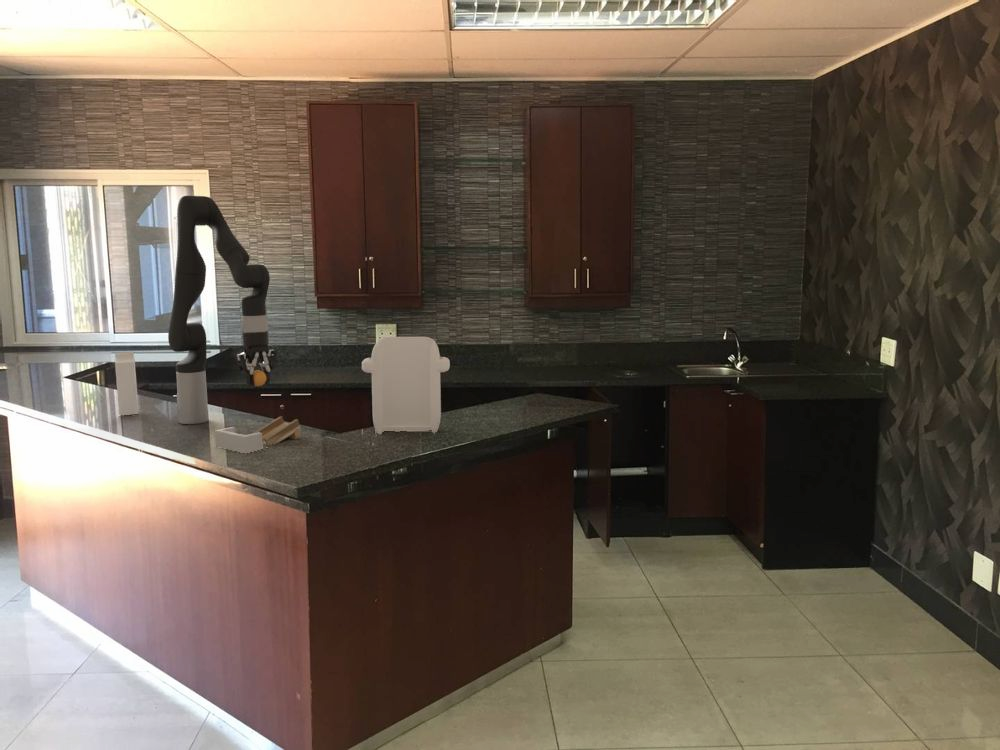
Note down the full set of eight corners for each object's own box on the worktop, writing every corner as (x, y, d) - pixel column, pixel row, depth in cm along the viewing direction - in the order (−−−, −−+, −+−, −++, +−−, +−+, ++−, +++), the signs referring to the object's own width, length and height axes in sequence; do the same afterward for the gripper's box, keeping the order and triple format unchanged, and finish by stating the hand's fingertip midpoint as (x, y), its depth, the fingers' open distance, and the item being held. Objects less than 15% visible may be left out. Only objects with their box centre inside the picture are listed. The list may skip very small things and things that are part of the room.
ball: (246, 386, 256) (245, 370, 255) (260, 384, 260) (259, 368, 259) (256, 387, 253) (255, 371, 252) (270, 385, 257) (269, 369, 256)
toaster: (451, 426, 271) (449, 334, 266) (450, 434, 259) (448, 338, 255) (367, 427, 270) (364, 335, 265) (362, 435, 259) (359, 339, 254)
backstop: (215, 447, 244) (214, 430, 243) (233, 443, 248) (232, 426, 248) (245, 454, 235) (244, 436, 235) (262, 449, 240) (261, 432, 239)
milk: (137, 415, 290) (133, 353, 287) (118, 416, 288) (114, 353, 285) (138, 412, 296) (134, 350, 292) (120, 413, 294) (115, 351, 290)
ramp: (249, 445, 250) (248, 423, 249) (283, 437, 260) (282, 415, 259) (266, 449, 245) (265, 426, 244) (301, 440, 255) (300, 419, 254)
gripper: (266, 327, 262) (269, 381, 264) (227, 331, 250) (231, 387, 253) (281, 328, 257) (285, 382, 260) (243, 332, 246) (246, 389, 248)
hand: (258, 384), depth 256 cm, fingers closed on ball, 5 cm apart
